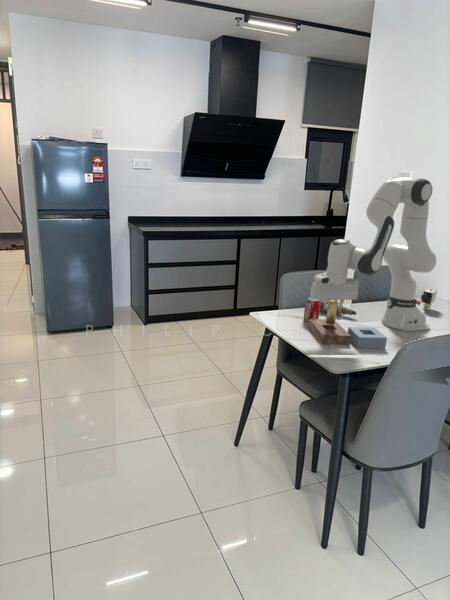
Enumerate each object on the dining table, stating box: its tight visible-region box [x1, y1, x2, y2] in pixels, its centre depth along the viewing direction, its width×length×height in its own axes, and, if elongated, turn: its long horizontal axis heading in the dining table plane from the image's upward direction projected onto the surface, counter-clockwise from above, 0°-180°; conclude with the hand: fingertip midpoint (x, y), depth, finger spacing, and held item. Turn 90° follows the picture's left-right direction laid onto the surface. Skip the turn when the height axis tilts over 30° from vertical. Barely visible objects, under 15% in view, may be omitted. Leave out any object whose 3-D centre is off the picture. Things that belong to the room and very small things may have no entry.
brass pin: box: [325, 299, 339, 325], centre depth 191 cm, size 4×4×10 cm
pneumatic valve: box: [420, 288, 438, 311], centre depth 244 cm, size 6×12×12 cm, turn 141°
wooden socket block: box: [307, 318, 351, 346], centre depth 194 cm, size 12×20×5 cm, turn 6°
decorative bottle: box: [320, 299, 357, 317], centre depth 227 cm, size 26×8×7 cm, turn 58°
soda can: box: [303, 296, 321, 324], centre depth 211 cm, size 7×7×12 cm
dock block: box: [347, 326, 388, 350], centre depth 188 cm, size 12×12×6 cm
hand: (332, 308), depth 191 cm, fingers closed on brass pin, 4 cm apart
